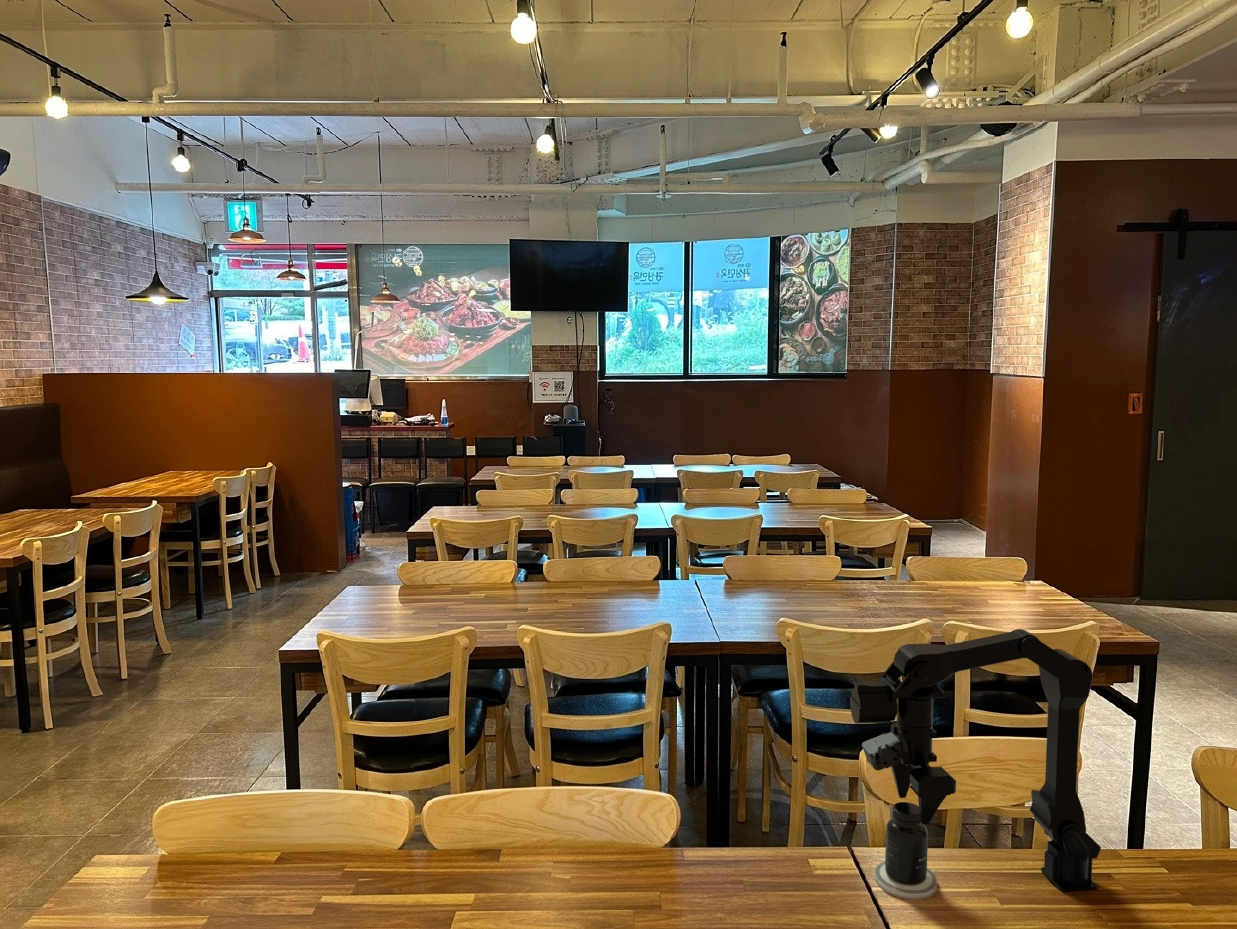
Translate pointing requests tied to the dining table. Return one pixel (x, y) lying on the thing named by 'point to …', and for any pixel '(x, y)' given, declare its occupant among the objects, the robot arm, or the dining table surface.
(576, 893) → the dining table surface
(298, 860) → the dining table surface
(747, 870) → the dining table surface
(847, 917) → the dining table surface
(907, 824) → the supplement bottle
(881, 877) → the dish
